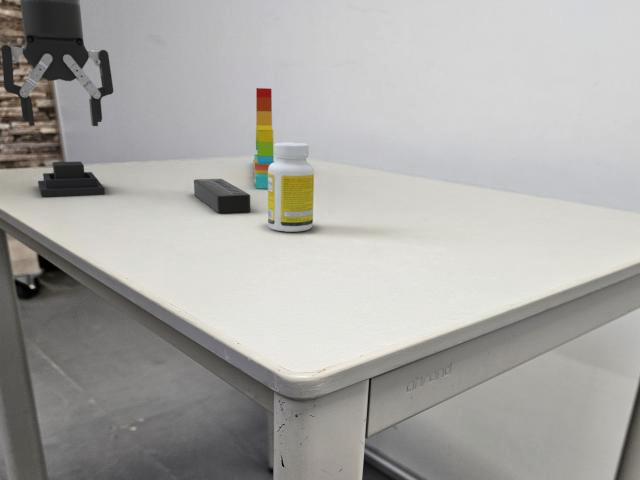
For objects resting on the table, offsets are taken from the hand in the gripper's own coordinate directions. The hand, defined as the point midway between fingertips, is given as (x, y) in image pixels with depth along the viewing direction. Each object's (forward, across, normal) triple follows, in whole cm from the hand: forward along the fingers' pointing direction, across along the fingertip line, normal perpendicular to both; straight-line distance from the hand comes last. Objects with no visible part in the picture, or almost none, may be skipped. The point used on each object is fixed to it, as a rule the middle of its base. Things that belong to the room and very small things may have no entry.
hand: (64, 125), depth 92 cm
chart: (+10, +34, +9) cm, 36 cm away
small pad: (+8, 0, 0) cm, 8 cm away
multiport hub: (+9, +18, -16) cm, 26 cm away
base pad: (+9, 0, 0) cm, 9 cm away
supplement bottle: (+9, +22, -33) cm, 41 cm away
